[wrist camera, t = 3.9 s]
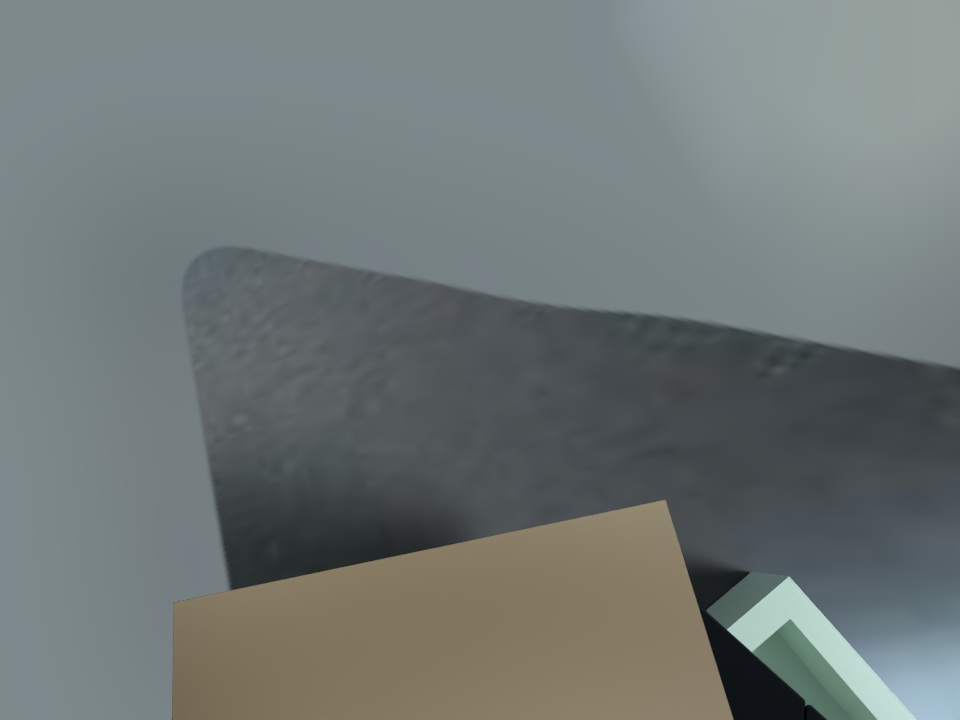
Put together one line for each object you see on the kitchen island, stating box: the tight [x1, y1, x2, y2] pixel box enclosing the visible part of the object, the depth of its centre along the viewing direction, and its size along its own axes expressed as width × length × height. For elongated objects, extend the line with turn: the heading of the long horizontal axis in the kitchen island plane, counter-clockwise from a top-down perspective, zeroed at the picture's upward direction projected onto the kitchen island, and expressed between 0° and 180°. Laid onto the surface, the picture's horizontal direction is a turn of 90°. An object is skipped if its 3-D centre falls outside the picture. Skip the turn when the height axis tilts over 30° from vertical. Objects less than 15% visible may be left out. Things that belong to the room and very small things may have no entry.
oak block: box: [172, 500, 733, 720], centre depth 9 cm, size 4×4×12 cm
